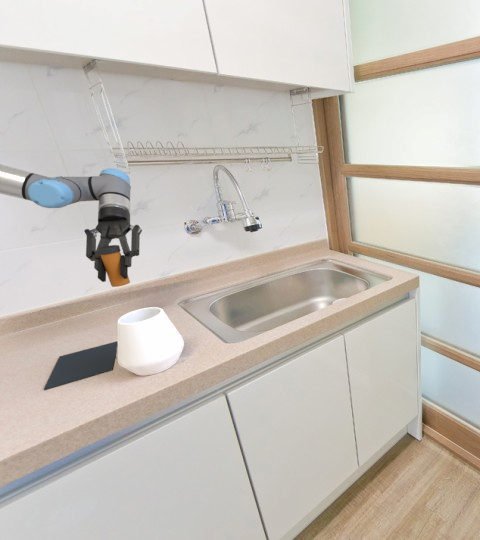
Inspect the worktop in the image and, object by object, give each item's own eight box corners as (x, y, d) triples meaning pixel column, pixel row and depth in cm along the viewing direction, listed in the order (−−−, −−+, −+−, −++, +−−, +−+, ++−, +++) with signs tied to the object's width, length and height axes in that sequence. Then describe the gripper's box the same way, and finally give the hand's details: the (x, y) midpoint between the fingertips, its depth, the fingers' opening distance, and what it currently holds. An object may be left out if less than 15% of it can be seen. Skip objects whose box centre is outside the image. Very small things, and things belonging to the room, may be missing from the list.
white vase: (109, 375, 79) (89, 324, 74) (163, 345, 91) (148, 300, 86) (149, 386, 75) (130, 333, 70) (200, 353, 87) (187, 306, 82)
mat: (60, 357, 87) (59, 356, 87) (118, 342, 93) (117, 341, 93) (44, 390, 75) (43, 388, 75) (112, 370, 81) (112, 368, 81)
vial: (111, 283, 99) (98, 247, 96) (131, 279, 102) (119, 244, 98) (109, 288, 96) (96, 250, 92) (130, 284, 98) (118, 247, 94)
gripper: (152, 216, 110) (154, 278, 101) (85, 222, 103) (81, 288, 94) (143, 202, 103) (144, 267, 95) (71, 207, 97) (65, 277, 88)
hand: (112, 278), depth 95 cm, fingers closed on vial, 4 cm apart
